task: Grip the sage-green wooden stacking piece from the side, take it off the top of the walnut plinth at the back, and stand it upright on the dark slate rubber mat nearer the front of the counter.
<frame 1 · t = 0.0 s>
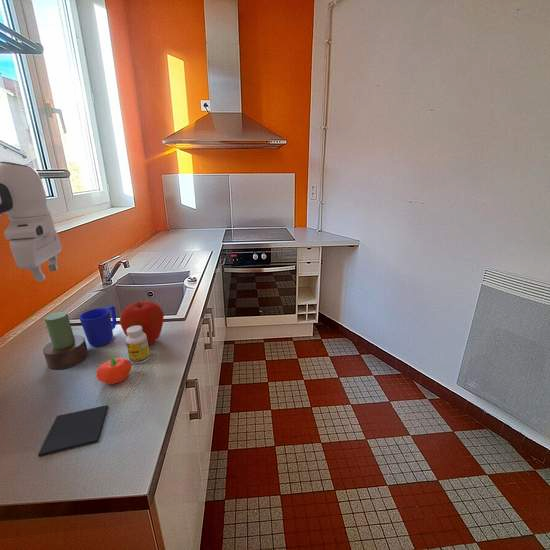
hand: (47, 275, 85), 24 cm above the worktop, tool pointing down, fingers open, 8 cm apart
mat: (76, 429, 63), on the worktop
supplement bottle: (140, 359, 86), on the worktop
pumpkin: (116, 380, 78), on the worktop
plinth: (68, 359, 87), on the worktop
stacking piece: (64, 344, 85), point 5 cm above the worktop, touching plinth
mug: (106, 339, 98), on the worktop
apple: (147, 342, 95), on the worktop
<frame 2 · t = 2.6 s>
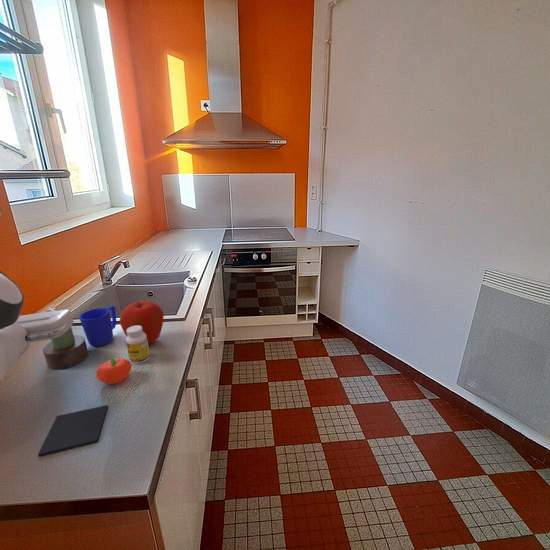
hand: (30, 313, 70), 20 cm above the worktop, tool horizontal, fingers open, 8 cm apart
nothing on the worktop moved.
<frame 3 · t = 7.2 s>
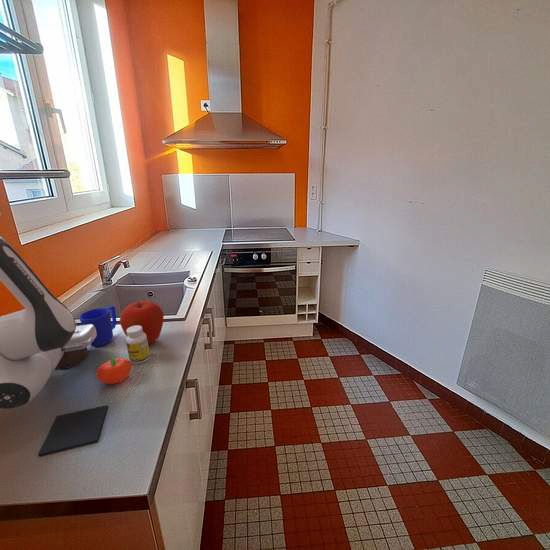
hand: (60, 327, 85), 10 cm above the worktop, tool horizontal, fingers closed on stacking piece, 5 cm apart
stacking piece: (64, 344, 85), point 5 cm above the worktop, touching gripper, plinth
everything else where it was.
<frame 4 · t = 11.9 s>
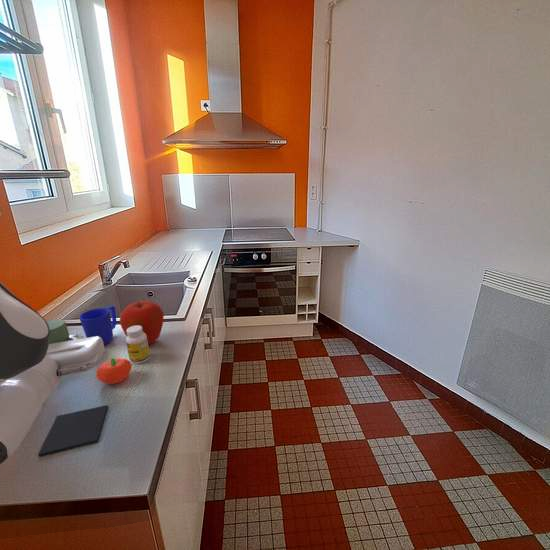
hand: (56, 340, 64), 17 cm above the worktop, tool horizontal, fingers closed on stacking piece, 5 cm apart
stacking piece: (61, 362, 64), point 12 cm above the worktop, touching gripper
everything else where it was.
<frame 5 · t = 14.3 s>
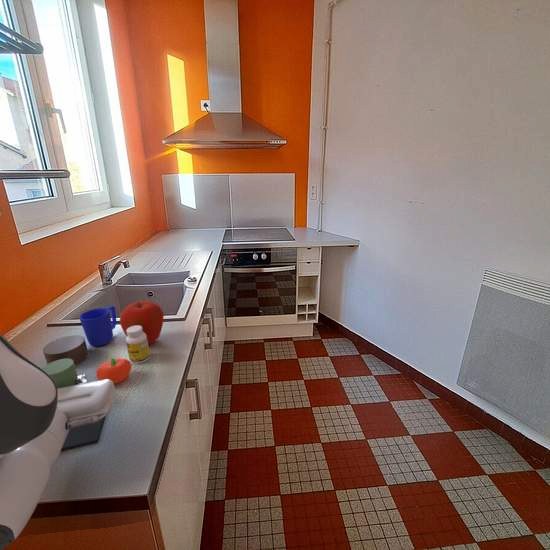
hand: (64, 380, 60), 12 cm above the worktop, tool horizontal, fingers closed on stacking piece, 5 cm apart
stacking piece: (69, 404, 60), point 7 cm above the worktop, touching gripper
everything else where it was.
when the fingers open (6 cm above the worktop, at t = 16.5 s): stacking piece stays where it is, resting on mat.
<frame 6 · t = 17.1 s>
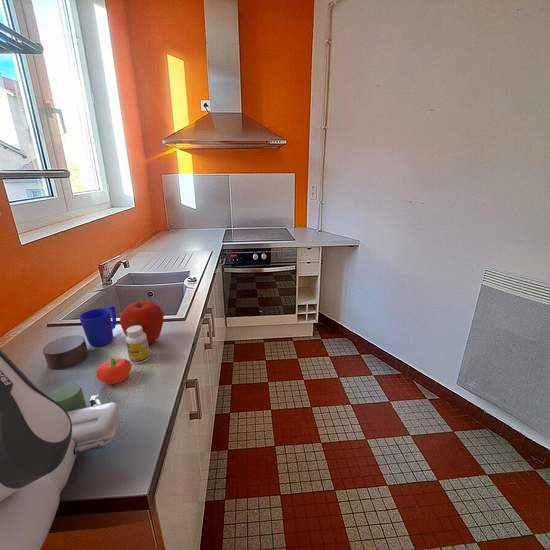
hand: (70, 402, 61), 6 cm above the worktop, tool horizontal, fingers open, 8 cm apart
stacking piece: (76, 427, 62), point 1 cm above the worktop, touching mat
everything else where it was.
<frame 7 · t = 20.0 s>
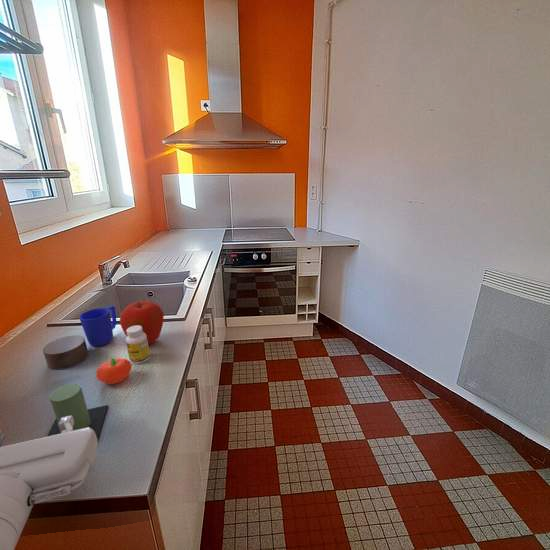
hand: (34, 426, 48), 12 cm above the worktop, tool horizontal, fingers open, 8 cm apart
nothing on the worktop moved.
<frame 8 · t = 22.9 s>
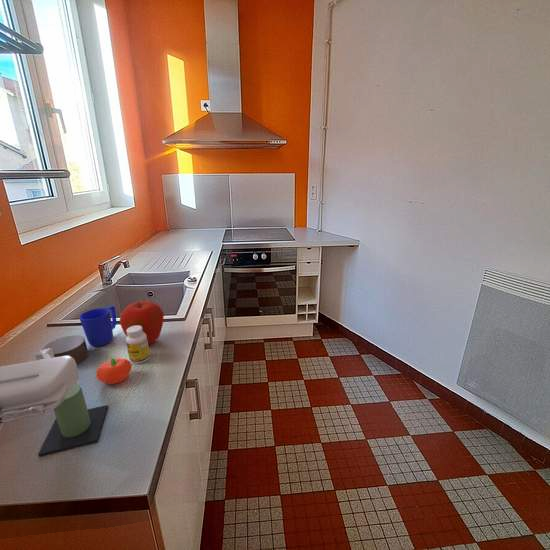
hand: (9, 359, 44), 25 cm above the worktop, tool horizontal, fingers open, 8 cm apart
nothing on the worktop moved.
at the end: stacking piece inside the target area on the mat (0.1 cm from its centre), point 0.6 cm above the mat's base; stacking piece tilted 0°; the gripper is holding nothing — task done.
